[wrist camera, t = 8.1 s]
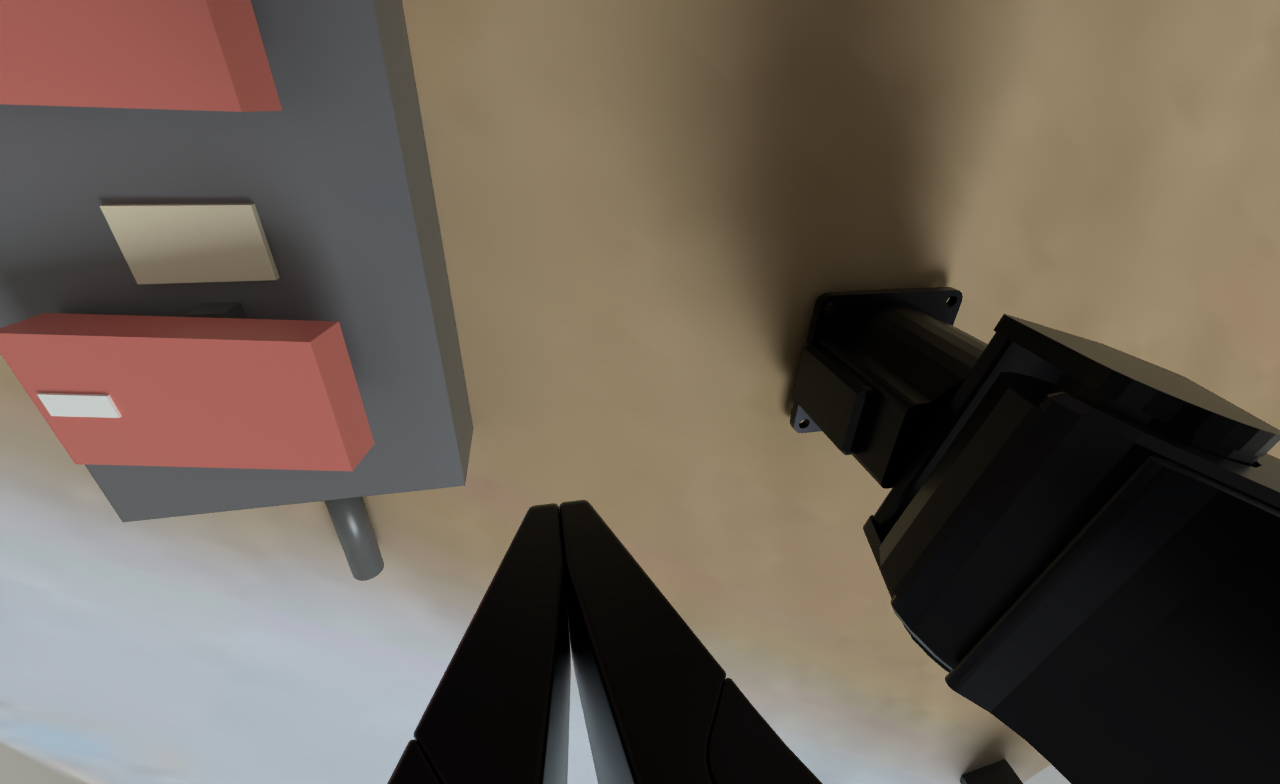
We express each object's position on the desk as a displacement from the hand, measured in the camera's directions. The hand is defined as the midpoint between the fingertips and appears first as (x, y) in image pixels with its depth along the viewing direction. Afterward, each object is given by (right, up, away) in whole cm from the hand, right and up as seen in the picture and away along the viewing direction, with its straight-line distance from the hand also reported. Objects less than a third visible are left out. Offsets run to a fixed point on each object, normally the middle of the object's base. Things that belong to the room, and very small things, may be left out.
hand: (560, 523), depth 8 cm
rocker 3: (-10, +3, +6) cm, 12 cm away
